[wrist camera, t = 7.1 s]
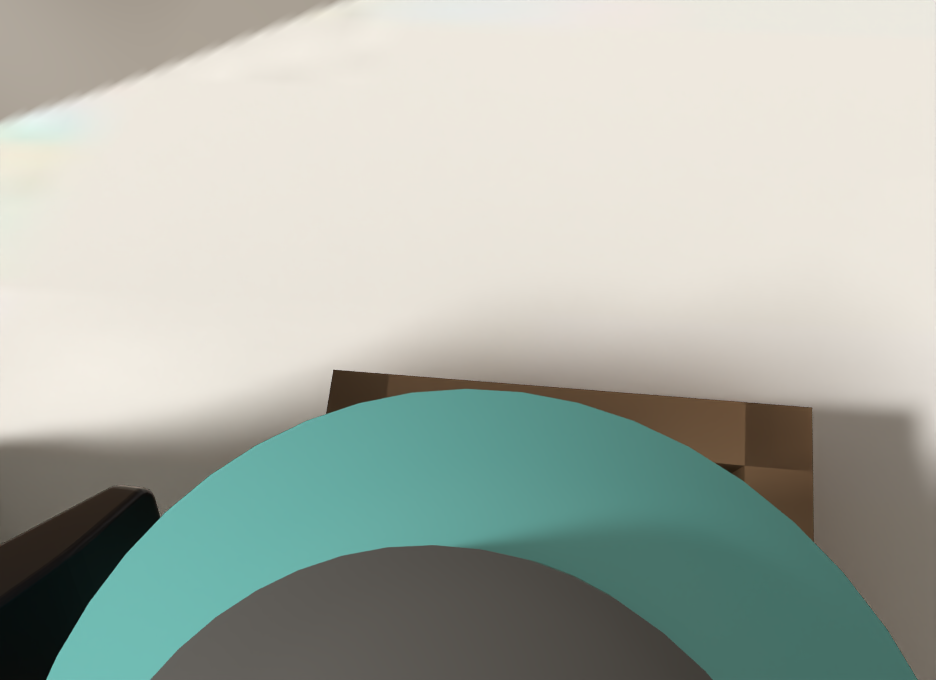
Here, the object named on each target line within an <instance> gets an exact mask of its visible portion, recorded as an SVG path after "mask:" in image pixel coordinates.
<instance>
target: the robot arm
mask: <svg viewBox="0 0 936 680" xmlns="http://www.w3.org/2000/svg"><path fill="white" fill-rule="evenodd" d="M159 519H160V515H159V511H158V508H157V504H156V500H155V497H154V495H153V493H152V492H151V491H150V490H149V489H146V488H144V487H135V486H126V485H116V486H112V487H110V488H108V489H106V490H104V491H102V492H100V493H98V494H96V495H95V496H93V497H91V498H89V499H87V500H85V501H83V502H81V503H79V504H77V505H76V506H74V507H72V508H70V509H68V510H66V511H64V512H62V513H60V514H58V515H56V516H55V517H53V518H51V519H49V520H47V521H45V522H43V523H41V524H39V525H37V526H36V527H34V528H32V529H30V530H28V531H26V532H24V533H22V534H20V535H18V536H16V537H15V538H13V539H11V540H9V541H7V542H5V543H3V544H1V545H0V680H46V679H47V677H48V675H49V673H50V670H51V668H52V666H53V664H54V662H55V660H56V657H57V655H58V654H59V652H60V650H61V649H62V647H63V645H64V644H65V642H66V640H67V639H68V637H69V635H70V634H71V632H72V630H73V629H74V627H75V625H76V624H77V622H78V620H79V619H80V617H81V615H82V614H83V612H84V610H85V609H86V607H87V605H88V604H89V602H90V601H91V599H92V598H93V597H94V595H95V594H96V593H97V591H98V590H99V589H100V588H101V586H102V585H103V584H104V582H105V581H106V580H107V578H108V577H109V576H110V574H111V573H112V572H113V570H114V569H115V568H116V566H117V565H118V564H119V562H120V561H121V560H122V558H123V557H124V556H125V554H126V553H127V552H128V551H129V550H130V549H131V548H132V547H133V546H134V545H135V544H136V543H137V542H138V541H139V540H140V539H141V538H142V537H143V536H144V534H145V533H146V532H147V531H148V530H149V529H150V528H151V527H152V526H153V525H154V524H155V523H156V522H157V521H158V520H159Z"/></svg>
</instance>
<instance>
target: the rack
mask: <svg viewBox="0 0 936 680" xmlns="http://www.w3.org/2000/svg"><path fill="white" fill-rule="evenodd" d="M457 389H477V390H494V391H511V392H524V393H529V394H534V395H539V396H545V397H550V398H555V399H561V400H566V401H571V402H576V403H580V404H583V405H586V406H589V407H592V408H596V409H599V410H602V411H605V412H608V413H611V414H614V415H617V416H620V417H623V418H626V419H629V420H632V421H635V422H637V423H639V424H641V425H644V426H646V427H648V428H650V429H652V430H654V431H656V432H658V433H661V434H663V435H665V436H667V437H669V438H671V439H673V440H675V441H678V442H680V443H682V444H684V445H686V446H688V447H690V448H692V449H693V450H695V451H696V452H698V453H700V454H701V455H703V456H704V457H706V458H708V459H709V460H711V461H712V462H714V463H715V464H717V465H719V466H720V467H722V468H723V469H725V470H727V471H728V472H730V473H731V474H733V475H735V476H736V477H738V478H739V479H741V480H743V481H744V482H745V483H746V484H748V485H749V486H750V487H751V488H752V489H754V490H755V491H756V492H757V493H759V494H760V495H761V496H762V497H764V498H765V499H766V500H767V501H769V502H770V503H771V504H772V505H773V506H775V507H776V508H777V509H778V510H780V511H781V512H782V513H783V514H785V515H786V516H787V517H788V518H790V519H791V520H792V521H793V522H794V523H795V524H796V525H797V526H798V527H799V528H800V529H801V530H802V531H803V532H804V533H805V534H806V535H807V536H808V537H809V538H810V539H811V540H812V541H813V542H814V530H813V441H812V408H810V407H798V406H785V405H772V404H760V403H747V402H734V401H722V400H709V399H696V398H684V397H671V396H658V395H646V394H633V393H620V392H608V391H595V390H582V389H570V388H557V387H544V386H532V385H519V384H506V383H494V382H481V381H468V380H456V379H443V378H430V377H418V376H405V375H392V374H380V373H367V372H354V371H342V370H333V376H332V382H331V388H330V394H329V400H328V406H327V412H326V414H328V413H331V412H334V411H337V410H340V409H343V408H346V407H349V406H352V405H355V404H358V403H363V402H368V401H373V400H378V399H383V398H388V397H393V396H398V395H403V394H408V393H415V392H429V391H443V390H457Z"/></svg>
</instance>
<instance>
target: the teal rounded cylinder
mask: <svg viewBox="0 0 936 680" xmlns="http://www.w3.org/2000/svg"><path fill="white" fill-rule="evenodd" d="M46 680H917V678H916V676H915V675H914V673H913V671H912V670H911V668H910V666H909V665H908V663H907V661H906V660H905V658H904V656H903V655H902V653H901V651H900V650H899V648H898V647H897V645H896V643H895V642H894V640H893V638H892V637H891V635H890V633H889V632H888V630H887V629H886V627H885V626H884V625H883V623H882V622H881V621H880V620H879V618H878V617H877V616H876V614H875V613H874V612H873V611H872V609H871V608H870V607H869V605H868V604H867V603H866V601H865V600H864V599H863V598H862V596H861V595H860V594H859V592H858V591H857V590H856V589H855V587H854V586H853V585H852V583H851V582H850V581H849V579H848V578H847V577H846V576H845V574H844V573H843V572H842V571H841V570H840V569H839V568H838V567H837V566H836V565H835V564H834V563H833V562H832V561H831V559H830V558H829V557H828V556H827V555H826V554H825V553H824V552H823V551H822V550H821V549H820V548H819V547H818V546H817V545H816V544H815V543H814V542H813V541H812V540H811V539H810V538H809V537H808V536H807V535H806V534H805V533H804V532H803V531H802V530H801V529H800V528H799V527H798V526H797V525H796V524H795V523H794V522H793V521H792V520H791V519H790V518H788V517H787V516H786V515H785V514H783V513H782V512H781V511H780V510H778V509H777V508H776V507H775V506H773V505H772V504H771V503H770V502H769V501H767V500H766V499H765V498H764V497H762V496H761V495H760V494H759V493H757V492H756V491H755V490H754V489H752V488H751V487H750V486H749V485H748V484H746V483H745V482H744V481H743V480H741V479H739V478H738V477H736V476H735V475H733V474H731V473H730V472H728V471H727V470H725V469H723V468H722V467H720V466H719V465H717V464H715V463H714V462H712V461H711V460H709V459H708V458H706V457H704V456H703V455H701V454H700V453H698V452H696V451H695V450H693V449H692V448H690V447H688V446H686V445H684V444H682V443H680V442H678V441H675V440H673V439H671V438H669V437H667V436H665V435H663V434H661V433H658V432H656V431H654V430H652V429H650V428H648V427H646V426H644V425H641V424H639V423H637V422H635V421H632V420H629V419H626V418H623V417H620V416H617V415H614V414H611V413H608V412H605V411H602V410H599V409H596V408H592V407H589V406H586V405H583V404H580V403H576V402H571V401H566V400H561V399H555V398H550V397H545V396H539V395H534V394H529V393H524V392H511V391H494V390H477V389H457V390H443V391H429V392H415V393H408V394H403V395H398V396H393V397H388V398H383V399H378V400H373V401H368V402H363V403H358V404H355V405H352V406H349V407H346V408H343V409H340V410H337V411H334V412H331V413H328V414H325V415H322V416H320V417H317V418H314V419H311V420H308V421H305V422H303V423H301V424H299V425H297V426H295V427H293V428H291V429H289V430H287V431H285V432H283V433H281V434H278V435H276V436H274V437H272V438H270V439H268V440H266V441H264V442H262V443H260V444H258V445H256V446H254V447H253V448H251V449H250V450H248V451H247V452H245V453H244V454H242V455H241V456H239V457H237V458H236V459H234V460H233V461H231V462H230V463H228V464H227V465H225V466H224V467H222V468H221V469H219V470H217V471H216V472H214V473H213V474H211V475H210V476H209V477H207V478H206V479H205V480H204V481H203V482H201V483H200V484H199V485H198V486H197V487H195V488H194V489H193V490H192V491H191V492H189V493H188V494H187V495H186V496H185V497H183V498H182V499H181V500H180V501H178V502H177V503H176V504H175V505H174V506H172V507H171V508H170V509H169V510H168V511H166V512H165V513H164V515H163V516H162V517H161V518H160V519H159V520H158V521H157V522H156V523H155V524H154V525H153V526H152V527H151V528H150V529H149V530H148V531H147V532H146V533H145V534H144V536H143V537H142V538H141V539H140V540H139V541H138V542H137V543H136V544H135V545H134V546H133V547H132V548H131V549H130V550H129V551H128V552H127V553H126V554H125V556H124V557H123V558H122V560H121V561H120V562H119V564H118V565H117V566H116V568H115V569H114V570H113V572H112V573H111V574H110V576H109V577H108V578H107V580H106V581H105V582H104V584H103V585H102V586H101V588H100V589H99V590H98V591H97V593H96V594H95V595H94V597H93V598H92V599H91V601H90V602H89V604H88V605H87V607H86V609H85V610H84V612H83V614H82V615H81V617H80V619H79V620H78V622H77V624H76V625H75V627H74V629H73V630H72V632H71V634H70V635H69V637H68V639H67V640H66V642H65V644H64V645H63V647H62V649H61V650H60V652H59V654H58V655H57V657H56V660H55V662H54V664H53V666H52V668H51V670H50V673H49V675H48V677H47V679H46Z"/></svg>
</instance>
